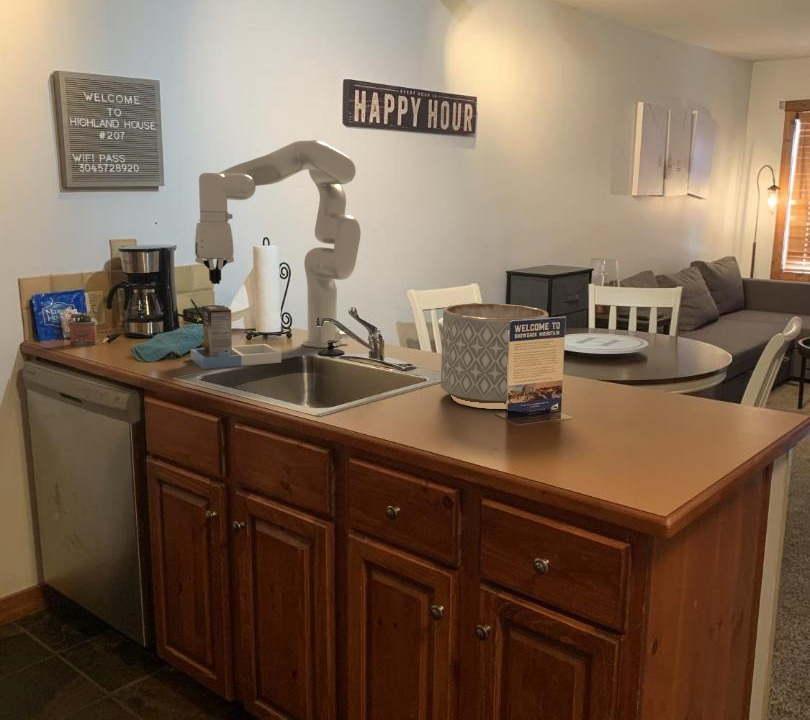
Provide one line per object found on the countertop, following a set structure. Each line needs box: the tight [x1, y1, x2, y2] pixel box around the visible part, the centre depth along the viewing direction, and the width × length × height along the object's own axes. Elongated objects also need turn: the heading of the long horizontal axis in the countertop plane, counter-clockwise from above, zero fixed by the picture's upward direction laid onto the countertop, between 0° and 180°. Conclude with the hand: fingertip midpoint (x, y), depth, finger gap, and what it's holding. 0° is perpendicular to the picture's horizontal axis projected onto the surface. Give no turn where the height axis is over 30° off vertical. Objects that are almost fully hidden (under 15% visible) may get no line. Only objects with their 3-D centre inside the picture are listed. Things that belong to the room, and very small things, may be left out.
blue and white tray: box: [190, 343, 282, 370], centre depth 234 cm, size 23×14×4 cm, turn 119°
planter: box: [440, 303, 549, 404], centre depth 196 cm, size 26×26×22 cm
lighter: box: [68, 312, 98, 347], centre depth 250 cm, size 8×3×10 cm, turn 94°
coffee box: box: [202, 305, 233, 358], centre depth 230 cm, size 9×6×16 cm
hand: (215, 283), depth 227 cm, fingers closed
